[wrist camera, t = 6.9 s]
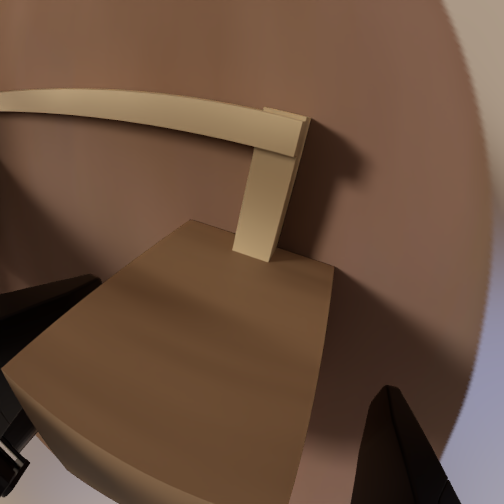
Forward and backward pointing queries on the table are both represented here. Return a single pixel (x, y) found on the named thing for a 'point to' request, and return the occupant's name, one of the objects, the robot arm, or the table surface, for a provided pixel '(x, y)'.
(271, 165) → the wooden block with bar
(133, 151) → the table surface
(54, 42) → the table surface
